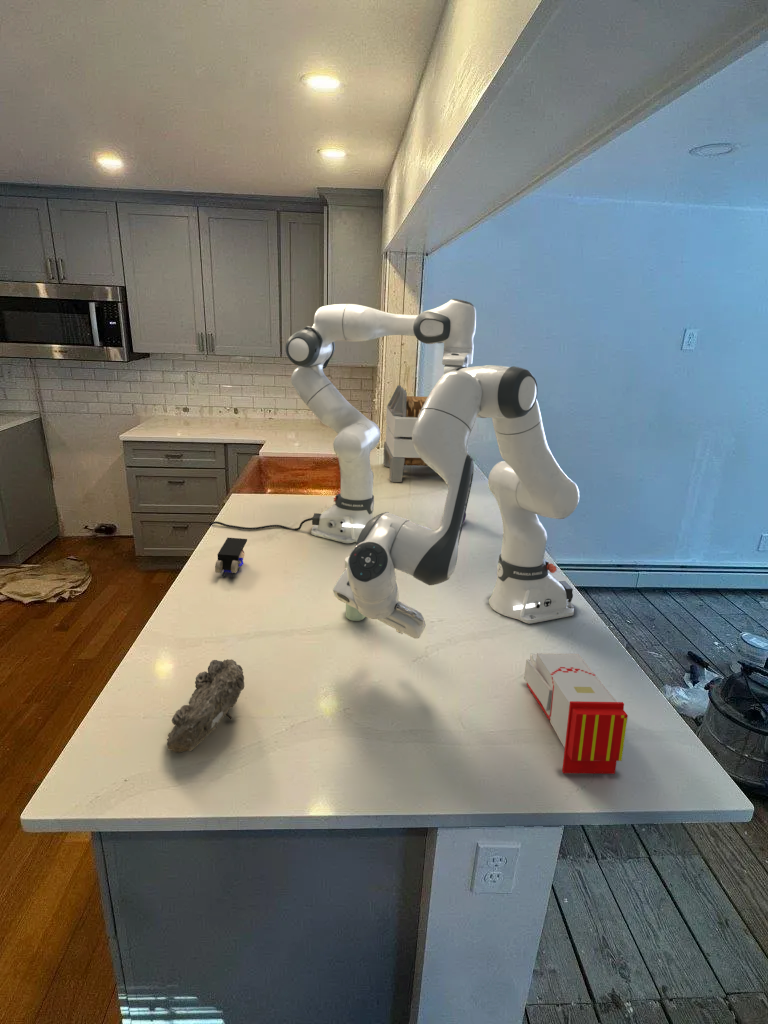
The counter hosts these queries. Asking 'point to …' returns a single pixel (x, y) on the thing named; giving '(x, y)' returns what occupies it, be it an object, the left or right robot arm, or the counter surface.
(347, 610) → the jar
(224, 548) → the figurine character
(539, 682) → the toy
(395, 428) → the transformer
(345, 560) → the lid
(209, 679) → the fossil
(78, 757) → the counter surface
